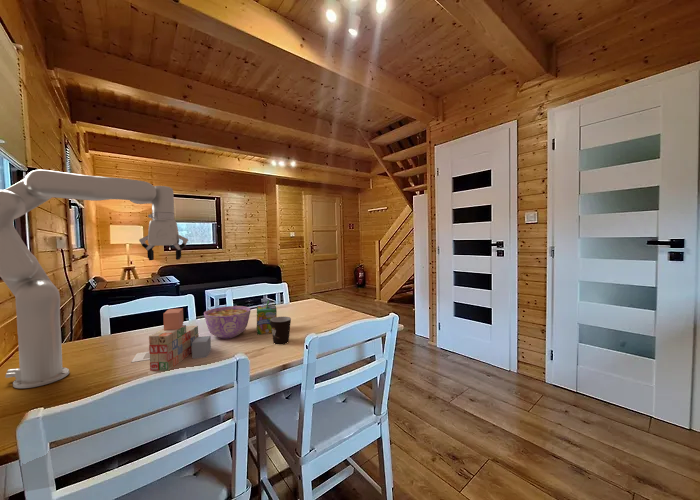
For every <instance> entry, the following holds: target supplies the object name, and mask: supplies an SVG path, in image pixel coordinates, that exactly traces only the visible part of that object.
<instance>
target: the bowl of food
mask: <svg viewBox="0 0 700 500" xmlns="http://www.w3.org/2000/svg"><path fill="white" fill-rule="evenodd" d="M251 310H252V309H251V307H249V306H245V305H244V306H243V305H231V306H221V307H214V308H211V309H209V310H208V309H207V310H205V311H204V312H203V315H204V320H205V322H206V326H207V330H208V332H209V333H210V334H211V335H212V336H214V337H218V338H219V339H232V338H235V337H238V335H240V334H241V333H243V332H245V330H246V328H247V327H248V324H249V319H250V316H251V315H250V314H251Z"/></svg>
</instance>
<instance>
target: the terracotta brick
mask: <svg viewBox="0 0 700 500" xmlns="http://www.w3.org/2000/svg"><path fill="white" fill-rule="evenodd" d="M162 314H163V329H164V330H173V329H180V328H181V326H182V325H184V308H183V307H182V308H180V307H179V308H171V309H170V308H169V309H167V310H166V311H165V312H163V313H162Z"/></svg>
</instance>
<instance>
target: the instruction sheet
mask: <svg viewBox="0 0 700 500" xmlns="http://www.w3.org/2000/svg"><path fill="white" fill-rule="evenodd" d="M144 361H150V353H149V351H145V352H137V353H136V354H135V356H134V357H133V359H132V360H131V363H136V362H144Z"/></svg>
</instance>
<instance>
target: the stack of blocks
mask: <svg viewBox="0 0 700 500" xmlns="http://www.w3.org/2000/svg"><path fill="white" fill-rule="evenodd" d="M196 337H200V336H199V326H198V325H186V324H183V325H182V326H181V328H180V329H173V330H164V328H162V329H160V330H159V331H156V332H154V333H152V334H151V335H149V336H148V340H149V345H148V347H149V348H148V352H149V353H150V360H149V366H150V367H149V371H170V370H171V368H174V367H175V366H176V365H177V364H179V363H180V362H182V361H183V360H184V359H186V358H187V357H188V356H189V355H192V342H193V341H194V340H195V339H196Z"/></svg>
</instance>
